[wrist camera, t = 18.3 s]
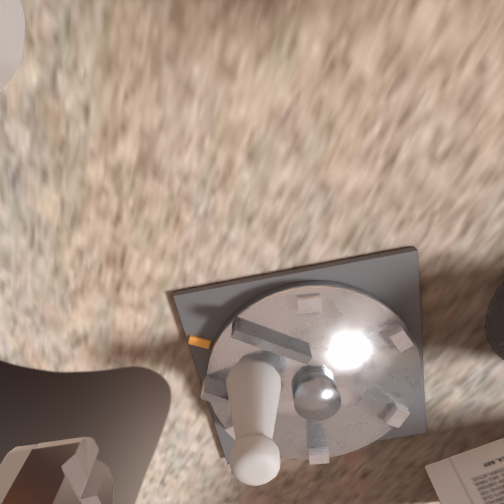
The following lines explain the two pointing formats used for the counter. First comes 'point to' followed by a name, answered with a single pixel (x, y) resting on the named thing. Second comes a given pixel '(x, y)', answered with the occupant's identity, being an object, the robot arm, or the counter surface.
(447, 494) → the pasta box
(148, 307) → the counter surface
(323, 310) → the studded metal disc
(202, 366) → the gray square base
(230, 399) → the salt shaker
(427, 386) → the counter surface
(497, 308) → the tankard
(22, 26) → the lumpy-topped squat cylinder
